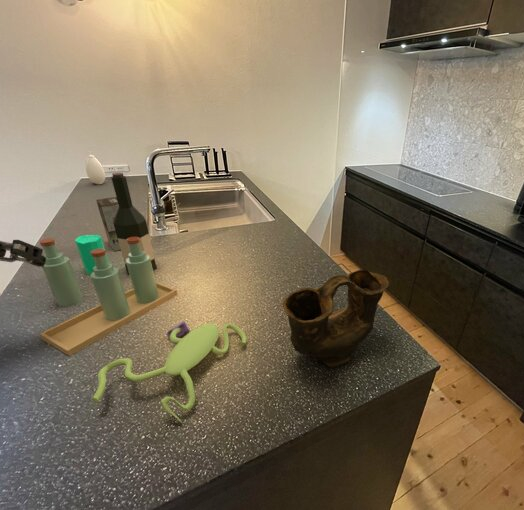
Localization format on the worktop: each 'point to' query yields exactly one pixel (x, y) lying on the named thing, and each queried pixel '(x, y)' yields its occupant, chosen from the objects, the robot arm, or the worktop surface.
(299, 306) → the pottery vessel
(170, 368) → the figurine
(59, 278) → the loose bottle
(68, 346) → the tray
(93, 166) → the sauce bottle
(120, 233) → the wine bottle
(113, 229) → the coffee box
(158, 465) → the worktop surface
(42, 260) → the robot arm
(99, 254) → the tray bottles
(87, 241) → the green polygonal prism
